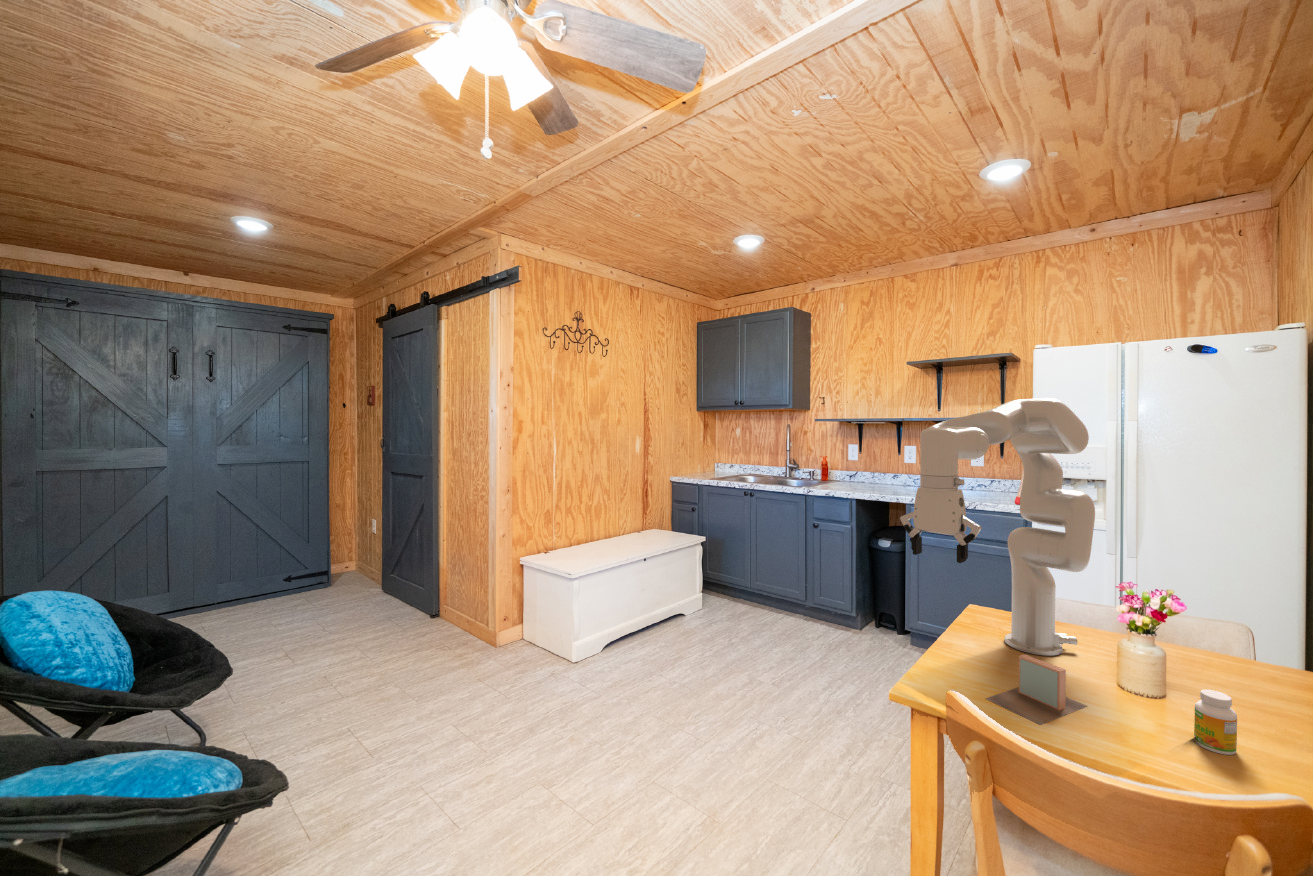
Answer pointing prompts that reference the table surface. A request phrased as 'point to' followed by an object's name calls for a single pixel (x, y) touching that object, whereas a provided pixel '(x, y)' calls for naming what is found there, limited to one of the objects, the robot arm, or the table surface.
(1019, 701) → the board
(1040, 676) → the tile
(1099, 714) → the table surface
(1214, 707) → the supplement bottle
